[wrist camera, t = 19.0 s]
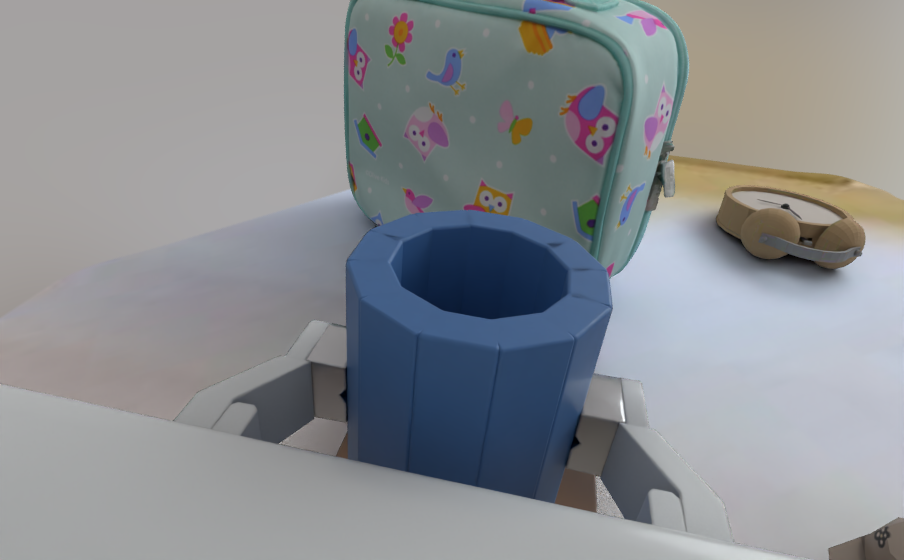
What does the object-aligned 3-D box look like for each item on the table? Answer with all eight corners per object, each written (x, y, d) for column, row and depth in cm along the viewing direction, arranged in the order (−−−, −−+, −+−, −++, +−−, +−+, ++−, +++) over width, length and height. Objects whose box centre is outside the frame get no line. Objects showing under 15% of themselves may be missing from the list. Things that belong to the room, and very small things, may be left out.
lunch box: (652, 297, 44) (753, -7, 32) (586, 354, 37) (686, -7, 25) (413, 189, 58) (425, -49, 46) (333, 215, 51) (325, -55, 40)
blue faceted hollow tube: (529, 648, 14) (622, 373, 9) (321, 597, 14) (305, 314, 10) (540, 473, 18) (605, 230, 13) (382, 440, 19) (391, 196, 14)
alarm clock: (821, 193, 58) (908, 232, 44) (805, 238, 60) (884, 288, 46) (711, 178, 59) (763, 212, 46) (699, 223, 61) (745, 268, 47)
